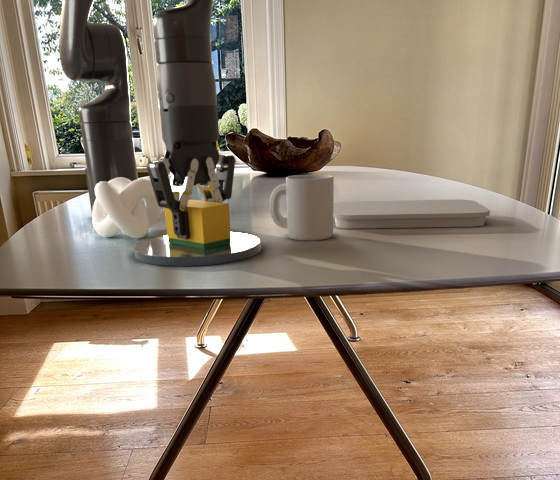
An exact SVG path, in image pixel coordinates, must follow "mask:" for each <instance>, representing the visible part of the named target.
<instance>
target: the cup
mask: <svg viewBox="0 0 560 480" xmlns="http://www.w3.org/2000/svg"><path fill="white" fill-rule="evenodd" d="M334 183H335V181H334V175H331V174H296V175H288V176H286V177H285V183H281V184H278V185H277V186H275V188H274V189H273V190H272V191H271V194H270V197H269V213H270V217H271V219H272V221H273V223H274V224H275V225H276V226H277V227H278V228H282V229H286V231H287V236H288V237H289V239H292V240H296V241H321V240H327V239H330V238H332V236H333V235H334V218H333V203H334V194H335V193H334V192H335V191H334V188H335V187H334ZM284 195H286V217H283V215H282V213H281V206H280V205H281V199H282V196H284Z"/></svg>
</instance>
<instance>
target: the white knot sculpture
mask: <svg viewBox="0 0 560 480" xmlns="http://www.w3.org/2000/svg"><path fill="white" fill-rule="evenodd" d="M95 196H96V199H95V202H94V206H93V212H92V211H91V222H92V227H93V229H94V230H95V232H96V234H98V235H99V236H102V237H104V238H111V237H112V238H113V237H115V236H116V235H118V234H119V233H120V232H123V233H124V234H125V235H126V236H128V237H130V238H131V239H142V238H144V237H145V236H147V234H148V232H149V229H151V228H152V227H154V225H156V223H157V222H158V221H159V220H160V218H161V215H162V214H163V210H164V207H159V206H158V203H157V200H156V197H155V194H154V190H153V187H152V184H151V180H150V179H148V178H138V179H137V180H134V181H130V180H129V179H127V178H123V177H118V178H114V179H112V180H110V181H108V182H107V181H101V182H99V183H97V184H96V186H95Z"/></svg>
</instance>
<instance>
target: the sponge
mask: <svg viewBox="0 0 560 480" xmlns="http://www.w3.org/2000/svg"><path fill="white" fill-rule="evenodd" d="M163 210H164V217H165V229H166V235H167V237H168V243H171V244H176V245H182V246H187V247H193V248H198V249H203V250H206V249H210V248H214V247H219V246H223V245H227V244H231V232H232V231H231V217H230V216H231V215H230V203H227V202H222V203H219V202H209V201H205V200H200V199H199V200H198V199H188V204H187V209H186V211H188V218H189V229H190V238H189V239H179V238H177V236H176V235H175V233H174V229H173V219H172V212H171V210H170V209H168V208H164V207H163Z"/></svg>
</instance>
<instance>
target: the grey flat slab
mask: <svg viewBox="0 0 560 480" xmlns="http://www.w3.org/2000/svg"><path fill="white" fill-rule="evenodd" d="M490 215H491V209H490V208H487V207H486V206H484V205H482V204H481V203H479V202H477V201H475V200H471V199H416V200H415V199H412V200H410V199H409V200H406V199H405V200H364V201H363V200H362V201H358V200H357V201H337V202H333V219H334V222H335V227H336V228H338V229H353V230H355V229H403V228H404V229H408V228H409V229H411V228H413V229H415V228H464V227H468V228H469V227H473V228H474V227H482V226H484V225H485V224H486V223H485V220H486V217H487V216H490Z"/></svg>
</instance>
